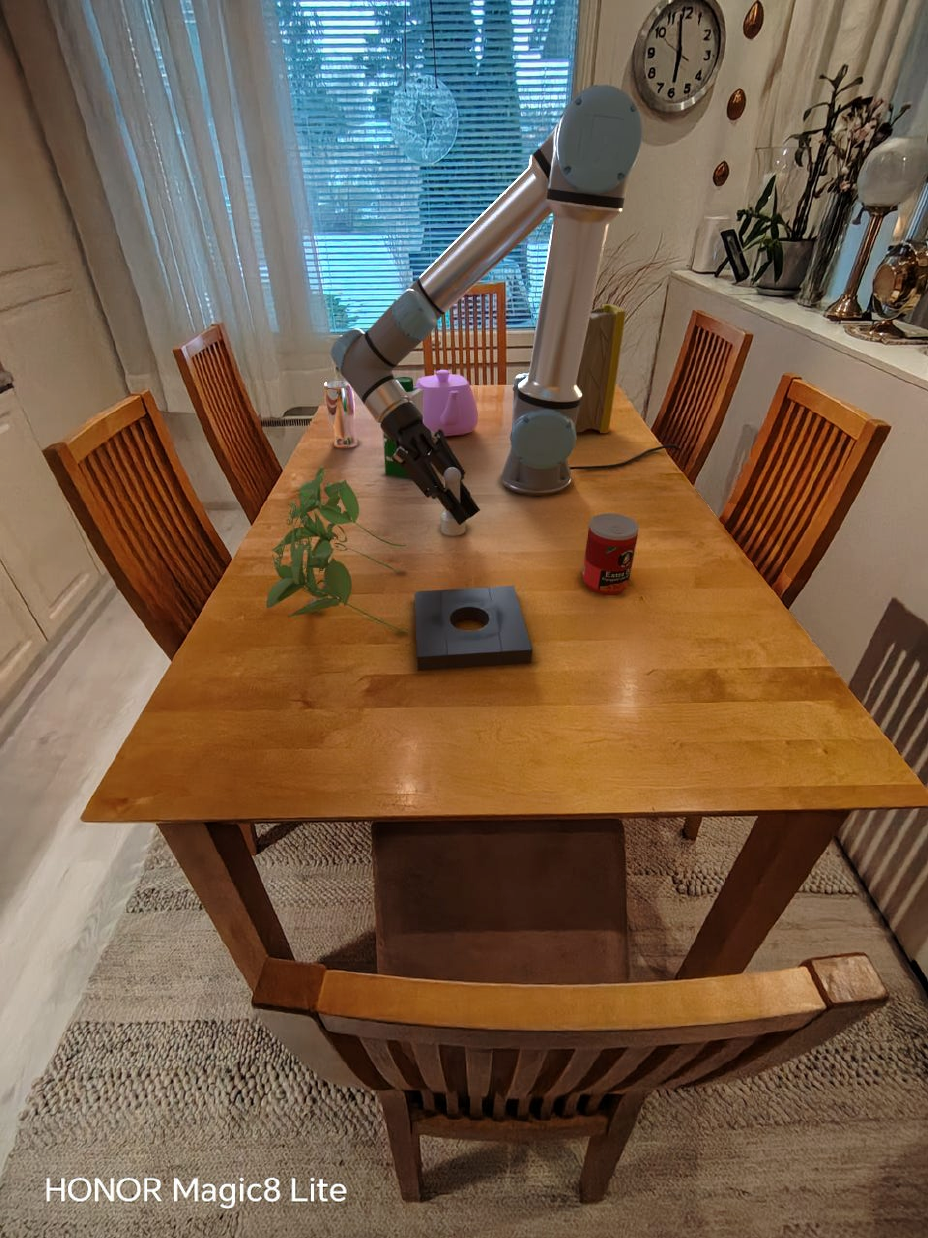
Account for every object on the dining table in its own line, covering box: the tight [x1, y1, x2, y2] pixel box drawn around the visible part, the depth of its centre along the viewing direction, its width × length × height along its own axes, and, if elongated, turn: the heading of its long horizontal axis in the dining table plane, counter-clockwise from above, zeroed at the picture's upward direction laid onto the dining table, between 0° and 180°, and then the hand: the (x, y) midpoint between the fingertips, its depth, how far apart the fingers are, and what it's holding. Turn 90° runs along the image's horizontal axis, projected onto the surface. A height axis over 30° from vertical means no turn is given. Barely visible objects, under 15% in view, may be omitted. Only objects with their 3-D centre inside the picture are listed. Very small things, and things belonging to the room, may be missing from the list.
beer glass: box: [323, 379, 359, 449], centre depth 146 cm, size 7×7×15 cm
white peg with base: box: [440, 467, 467, 537], centre depth 110 cm, size 5×5×13 cm
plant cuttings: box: [265, 466, 410, 634], centre depth 90 cm, size 35×17×22 cm
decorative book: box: [538, 302, 627, 434], centre depth 149 cm, size 20×11×30 cm, turn 98°
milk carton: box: [381, 376, 424, 480], centre depth 131 cm, size 9×9×20 cm
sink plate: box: [413, 585, 533, 671], centre depth 88 cm, size 16×16×2 cm
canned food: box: [581, 512, 640, 595], centre depth 96 cm, size 8×8×11 cm
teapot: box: [413, 369, 479, 437], centre depth 151 cm, size 23×21×15 cm
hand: (469, 517), depth 110 cm, fingers closed on white peg with base, 3 cm apart
